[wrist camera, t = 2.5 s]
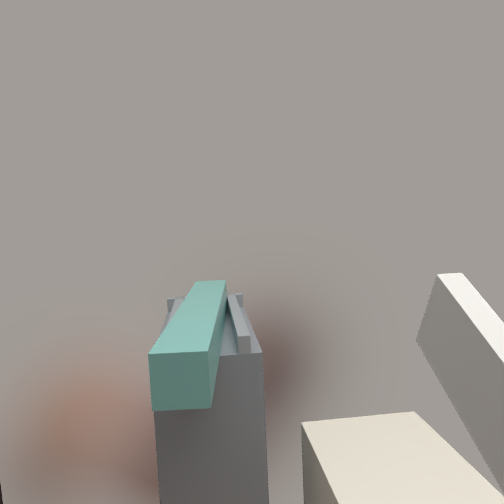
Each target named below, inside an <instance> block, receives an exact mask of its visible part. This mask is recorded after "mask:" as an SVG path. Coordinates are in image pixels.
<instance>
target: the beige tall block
mask: <svg viewBox="0 0 504 504" xmlns="http://www.w3.org/2000/svg"><path fill="white" fill-rule="evenodd" d="M301 429H302V461H303V489H304V490H303V491H304V504H504V496H503V495H502V494H500V493H499V492H498V491H497V490H496V489H495V488H494V487H493V486H492V485H491V484H490V483H489V482H488V481H487V480H486V479H485V478H484V477H483V476H482V475H480V474H479V473H478V472H477V471H476V470H475V469H474V468H473V467H472V466H471V465H470V464H469V463H468V462H467V461H466V460H465V459H464V458H463V457H462V456H460V454H458V453H457V452H456V451H455V450H454V449H453V448H452V447H451V446H450V445H449V444H448V443H447V442H446V441H445V440H444V439H443V438H442V437H441V436H439V435H438V434H437V433H436V432H435V431H434V430H433V429H432V428H431V427H430V426H429V425H428V424H427V423H426V422H425V421H424V420H423V419H422V418H421V417H420V416H418V415H417V414H416V413H415V412H414V411H413V412H403V413H392V414H382V415H372V416H362V417H353V418H342V419H331V420H321V421H312V422H302V423H301Z"/></svg>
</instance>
